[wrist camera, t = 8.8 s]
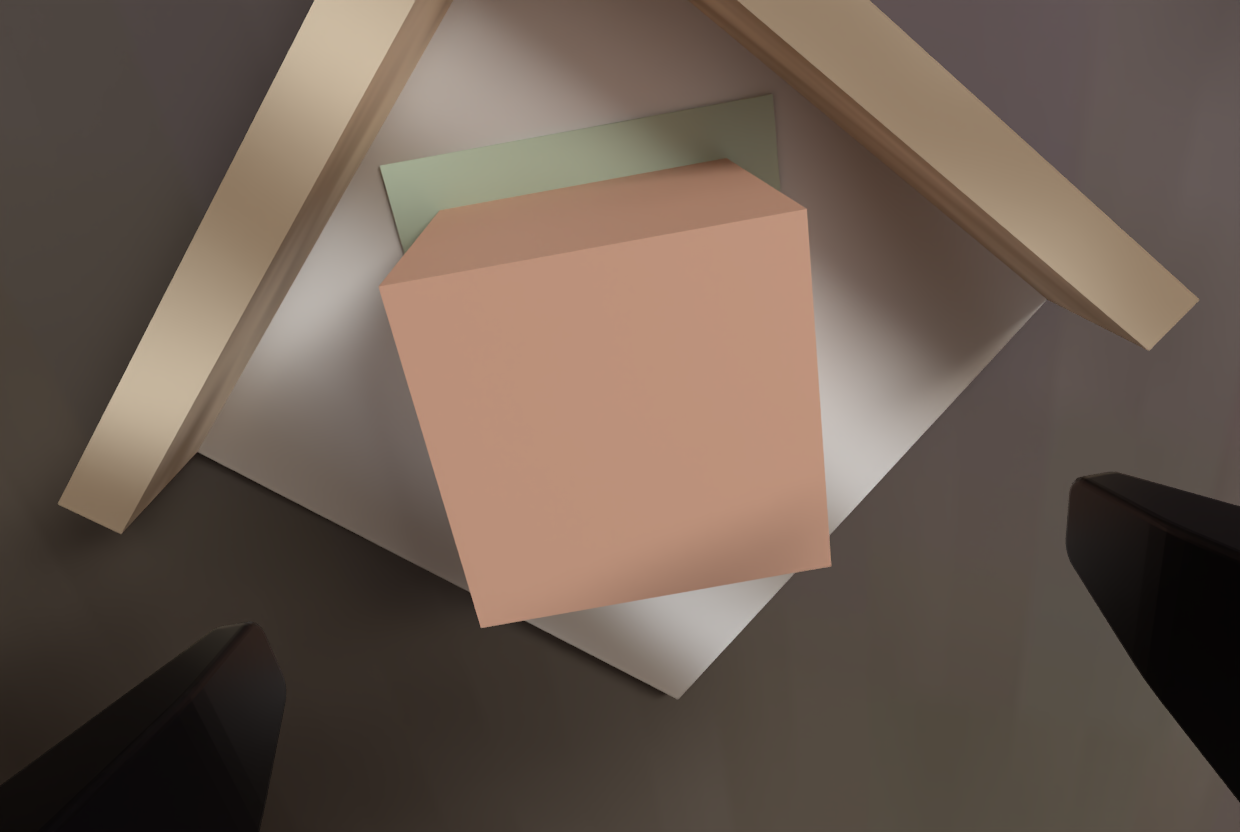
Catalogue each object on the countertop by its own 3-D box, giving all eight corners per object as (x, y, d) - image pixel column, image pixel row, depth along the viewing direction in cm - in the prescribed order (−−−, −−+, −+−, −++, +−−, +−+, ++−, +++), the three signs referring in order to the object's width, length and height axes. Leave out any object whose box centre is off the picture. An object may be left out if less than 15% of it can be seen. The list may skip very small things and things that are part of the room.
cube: (754, 424, 19) (832, 573, 14) (506, 468, 19) (483, 635, 14) (726, 158, 16) (806, 209, 11) (439, 210, 17) (378, 286, 11)
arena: (675, 686, 23) (696, 805, 19) (156, 416, 19) (57, 503, 15) (1074, 251, 18) (1199, 299, 15) (509, -241, 14) (489, -344, 10)
